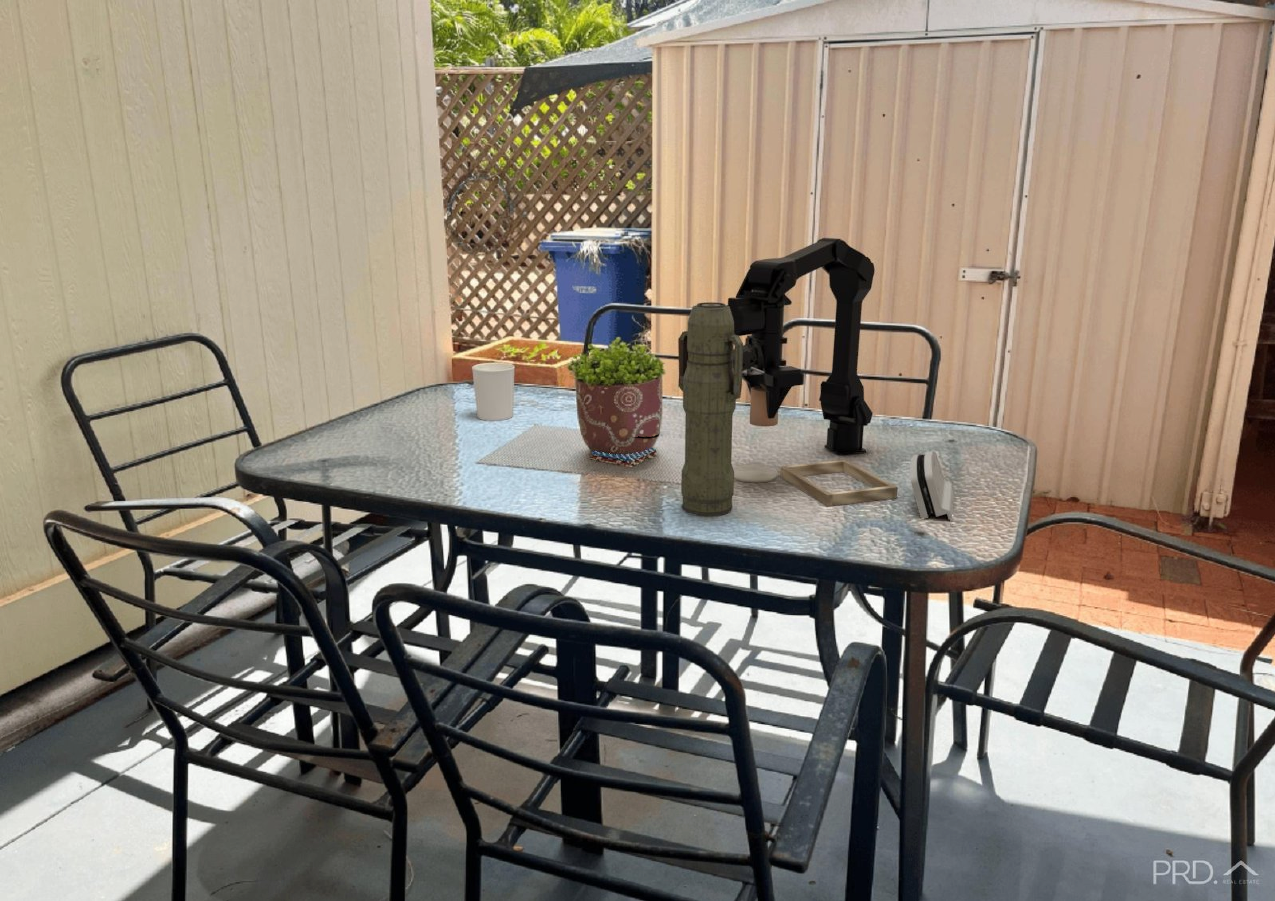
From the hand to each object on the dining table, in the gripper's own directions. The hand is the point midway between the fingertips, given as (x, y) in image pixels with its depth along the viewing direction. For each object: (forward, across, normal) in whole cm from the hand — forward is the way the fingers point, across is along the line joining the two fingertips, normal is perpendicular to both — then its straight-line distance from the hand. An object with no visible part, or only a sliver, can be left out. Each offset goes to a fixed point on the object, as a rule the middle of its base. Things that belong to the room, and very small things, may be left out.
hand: (764, 414), depth 185 cm
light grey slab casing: (+12, +24, +21) cm, 34 cm away
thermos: (+12, +12, -17) cm, 24 cm away
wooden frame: (+12, +10, +10) cm, 19 cm away
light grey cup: (+12, -64, -37) cm, 75 cm away
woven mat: (+13, -22, -20) cm, 32 cm away
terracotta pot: (+2, 0, 0) cm, 2 cm away
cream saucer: (+12, -1, -1) cm, 12 cm away
